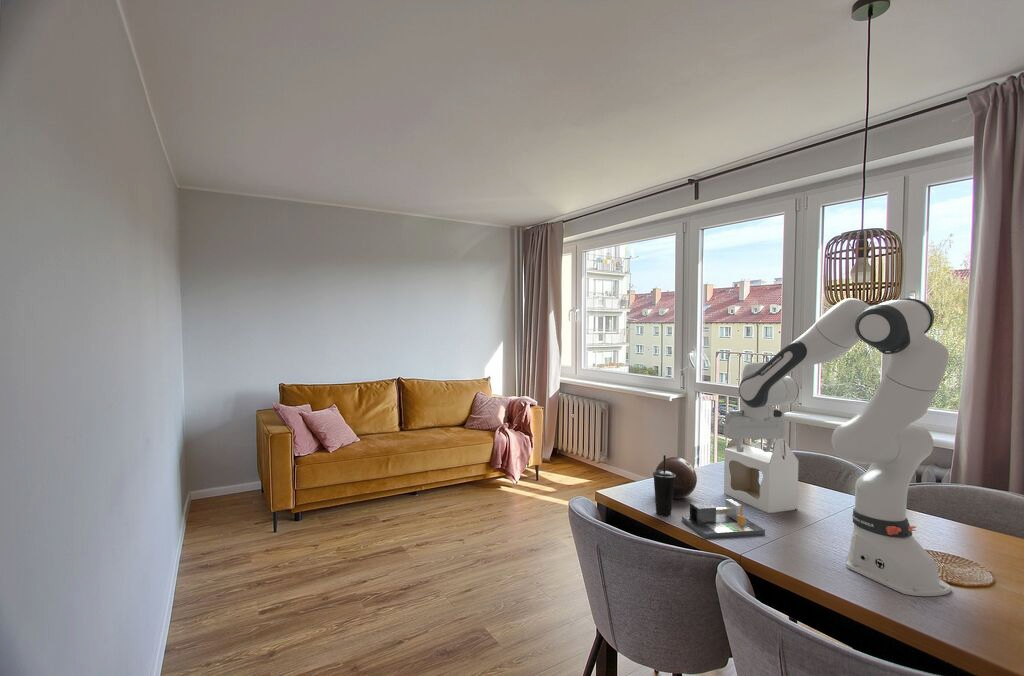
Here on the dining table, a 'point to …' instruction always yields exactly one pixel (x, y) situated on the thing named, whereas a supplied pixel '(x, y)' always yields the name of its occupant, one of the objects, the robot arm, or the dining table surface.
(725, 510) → the white block
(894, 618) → the dining table surface
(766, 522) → the dining table surface
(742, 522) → the peak needle
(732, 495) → the gable box
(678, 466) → the wooden sphere
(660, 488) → the drinking cup
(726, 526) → the gauge frame
